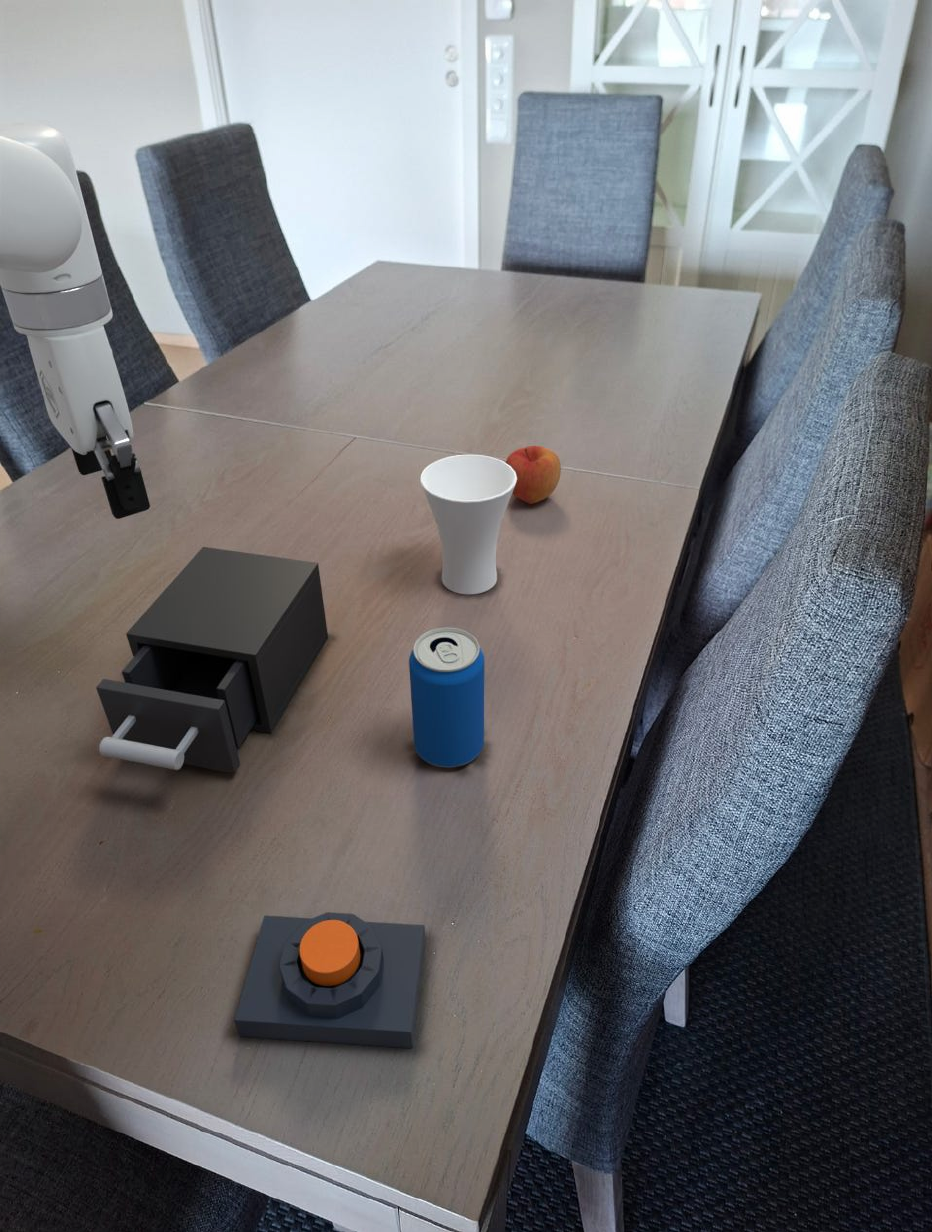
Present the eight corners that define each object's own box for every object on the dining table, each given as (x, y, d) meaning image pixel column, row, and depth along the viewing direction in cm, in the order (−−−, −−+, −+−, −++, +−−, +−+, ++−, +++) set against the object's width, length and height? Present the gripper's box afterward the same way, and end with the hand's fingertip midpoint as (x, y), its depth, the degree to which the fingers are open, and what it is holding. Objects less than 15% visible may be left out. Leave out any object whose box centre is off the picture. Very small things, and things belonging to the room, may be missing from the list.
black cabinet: (271, 733, 83) (255, 655, 77) (150, 711, 85) (125, 633, 79) (328, 637, 94) (318, 562, 88) (220, 620, 97) (202, 546, 91)
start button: (296, 984, 59) (293, 971, 58) (309, 931, 62) (306, 917, 61) (355, 988, 59) (352, 974, 58) (364, 935, 62) (362, 921, 61)
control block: (239, 1036, 60) (229, 1006, 57) (268, 932, 66) (260, 900, 64) (412, 1048, 59) (410, 1018, 57) (425, 941, 66) (423, 910, 63)
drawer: (211, 811, 74) (192, 747, 69) (91, 787, 77) (64, 722, 72) (295, 674, 88) (284, 612, 83) (190, 657, 90) (174, 595, 85)
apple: (569, 496, 117) (573, 442, 112) (537, 518, 113) (540, 463, 108) (525, 479, 121) (527, 426, 116) (493, 500, 117) (493, 446, 112)
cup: (530, 571, 104) (534, 469, 95) (483, 616, 97) (483, 511, 88) (457, 545, 108) (455, 445, 100) (407, 586, 101) (400, 484, 93)
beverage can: (468, 715, 85) (468, 617, 77) (494, 761, 80) (496, 662, 72) (405, 732, 83) (398, 634, 75) (427, 781, 78) (422, 681, 71)
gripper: (-17, 284, 73) (45, 466, 84) (40, 345, 62) (103, 546, 73) (74, 268, 77) (123, 445, 87) (143, 322, 66) (189, 517, 76)
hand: (114, 490), depth 80 cm, fingers open, 9 cm apart
